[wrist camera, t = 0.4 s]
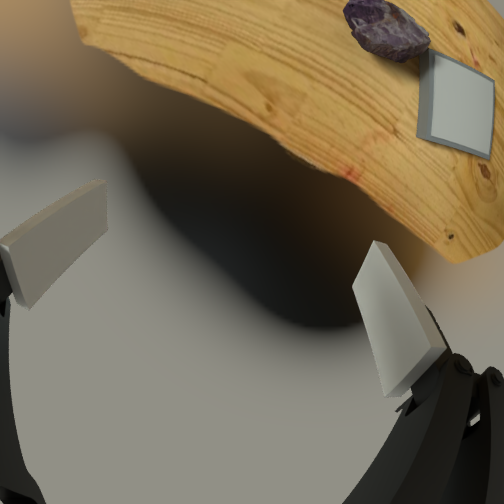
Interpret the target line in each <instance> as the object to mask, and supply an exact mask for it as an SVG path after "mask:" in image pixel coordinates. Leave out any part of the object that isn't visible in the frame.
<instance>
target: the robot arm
mask: <svg viewBox="0 0 504 504" xmlns="http://www.w3.org/2000/svg"><path fill="white" fill-rule="evenodd" d="M107 230H108V227H107V181H104V180H98V179H94V180H92V181H90V182H89V183H87V184H85V185H83V186H81V187H79V188H78V189H76V190H74V191H73V192H71V193H69V194H67V195H65V196H64V197H62V198H60V199H59V200H57V201H55V202H54V203H52V204H51V205H49V206H47V207H46V208H44V209H43V210H41V211H40V212H38V213H37V214H35V215H34V216H32V217H31V218H29V219H28V220H26V221H25V222H23V223H22V224H20V225H19V226H18V227H16V228H15V229H13V231H11V232H10V233H8V234H7V235H5V236H4V237H3V238H1V239H0V500H1V501H2V502H3V504H46V503H45V500H44V498H43V495H42V493H41V491H40V489H39V486H38V485H37V483H36V481H35V480H34V479H33V477H32V476H31V475H30V474H29V472H28V471H27V469H26V466H25V464H24V460H23V457H22V453H21V449H20V444H19V440H18V435H17V430H16V425H15V420H14V414H13V406H12V398H11V389H10V376H9V318H10V306H11V304H10V300H9V295H10V294H11V293H12V292H13V294H14V297H15V299H16V302H17V304H18V305H20V306H21V307H23V308H25V309H27V310H30V309H31V308H32V306H33V305H34V304H35V303H36V302H37V301H38V300H39V299H40V297H41V296H42V295H43V294H44V293H45V292H46V291H47V290H48V289H49V288H50V286H51V285H52V284H53V283H54V282H55V281H56V280H57V279H58V278H59V277H60V276H61V275H62V274H63V273H64V272H65V271H66V270H67V269H68V268H69V267H70V266H71V265H72V264H73V263H74V261H76V260H77V259H78V258H79V257H80V256H81V255H82V254H83V253H84V252H85V251H86V250H87V249H88V248H89V247H90V246H91V245H92V244H93V243H94V242H96V241H97V240H98V239H99V238H100V237H101V236H102V235H103V234H104V233H105V232H107ZM352 287H353V290H354V293H355V296H356V299H357V302H358V305H359V308H360V311H361V314H362V317H363V321H364V324H365V327H366V330H367V334H368V337H369V340H370V344H371V347H372V351H373V354H374V358H375V362H376V365H377V369H378V373H379V377H380V381H381V384H382V389H383V393H384V397H401V396H402V395H403V394H404V393H405V392H406V391H407V390H408V389H409V388H410V387H411V391H412V394H413V395H412V396H411V397H410V398H409V399H407V400H406V401H405V402H404V403H403V404H402V405H401V406H400V407H398V408H397V410H396V411H395V412H398V411H400V410H401V409H403V410H402V412H401V414H400V416H399V418H398V420H397V422H396V424H395V425H394V427H393V429H392V431H391V433H390V434H389V436H388V438H387V440H386V441H385V443H384V445H383V447H382V448H381V450H380V451H379V453H378V455H377V456H376V458H375V459H374V461H373V462H372V464H371V465H370V467H369V468H368V470H367V472H366V473H365V474H364V476H363V477H362V478H361V480H360V481H359V483H358V484H357V485H356V487H355V488H354V489H353V491H352V492H351V493H350V495H349V496H348V497H347V498H346V500H345V501H344V502H343V503H342V504H504V378H503V376H502V373H501V372H500V371H499V370H497V369H496V368H494V367H491V366H490V367H488V368H487V369H486V370H485V371H484V372H483V373H482V374H481V375H480V374H477V373H474V370H473V368H472V366H471V364H470V362H469V361H468V360H467V359H466V358H465V357H464V356H462V355H460V354H456V353H454V354H452V351H451V349H450V347H449V345H448V343H447V341H446V339H445V337H444V335H443V333H442V331H441V330H440V327H439V325H438V323H437V322H436V320H435V318H434V316H433V314H432V312H431V311H430V310H429V309H428V308H427V307H426V305H424V303H423V301H422V300H421V298H420V296H419V295H418V293H417V291H416V289H415V288H414V286H413V284H412V283H411V281H410V279H409V278H408V276H407V275H406V273H405V271H404V270H403V268H402V267H401V265H400V264H399V262H398V260H397V259H396V257H395V256H394V254H393V253H392V251H391V250H390V249H389V247H388V246H387V244H384V243H381V242H377V241H373V243H372V245H371V247H370V250H369V252H368V254H367V256H366V258H365V261H364V263H363V265H362V267H361V269H360V271H359V273H358V275H357V278H356V279H355V282H354V284H353V286H352ZM478 414H480V420H479V421H478V422H477V423H475V424H474V425H473V426H471V425H470V421H471V420H472V419H473V418H475V417H476V416H477V415H478Z"/></svg>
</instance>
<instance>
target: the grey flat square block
mask: <svg viewBox="0 0 504 504" xmlns="http://www.w3.org/2000/svg"><path fill="white" fill-rule="evenodd" d="M419 64H420V84H419V109H418V123H417V134H416V137H418V138H422V139H425V140H429V141H432V142H436V143H440V144H443V145H446V146H450V147H453V148H456V149H459V150H462V151H465V152H468V153H471V154H474V155H477V156H480V157H482V158H485V159H488V160H489V159H490V153H491V145H492V136H493V124H494V104H495V82H494V80H493V79H491V78H490V77H488V76H486V75H484V74H483V73H481V72H479V71H477V70H475V69H473V68H471V67H470V66H468V65H466V64H464V63H461V62H459V61H457V60H455V59H453V58H451V57H449V56H446V55H444V54H442V53H439V52H437V51H434V50H432V49H429V48H428V49H427V50H426V51H424V52H423V53H422V54H420V55H419Z"/></svg>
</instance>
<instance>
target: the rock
mask: <svg viewBox="0 0 504 504" xmlns="http://www.w3.org/2000/svg"><path fill="white" fill-rule="evenodd" d="M343 13H344V16H345V18H346V21H347V22H348V25H349V27H350V28H351V29H352V30H353V31H352V32H351V34H352V36H353V37H354V38H355V39H356V40H357V41H358V43H359V44H360V46H361V47H362V48H363V49H364V50H366V51H368V52H371V53H374V54H377V55H379V56H383V57H386V58H389V59H391V60H393V61H395V62H399V63H404V62H406V61H407V60H408V59H411V58H414V57H416V56H417V55H420V54H422V53H423V52H424V51H426V50H427V48H428V46H429V44H430V42H431V40H430V38H429V37H428V36H429V33H428V32H426V30H425V29H424V28H423V27H421V26H419V25H418V24H416V23H415V19H414V18H412V17H411V16H410V15H408V14H407V13H406V12H405V11H404V10H403V9H400V8H399V7H397V6H396V5H394V4H392V3H390V2H387V1H384V0H349V2H348V3H347V5H346V6H345V8H344V9H343Z"/></svg>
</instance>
